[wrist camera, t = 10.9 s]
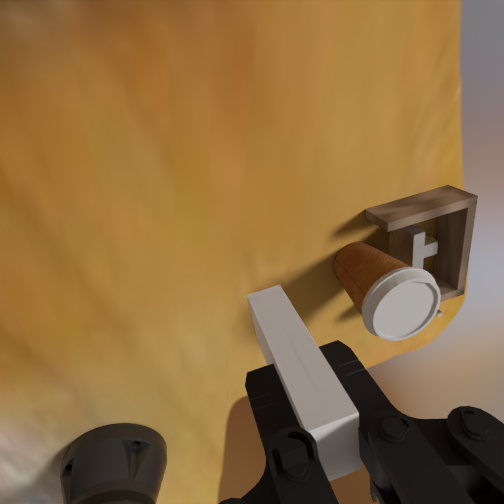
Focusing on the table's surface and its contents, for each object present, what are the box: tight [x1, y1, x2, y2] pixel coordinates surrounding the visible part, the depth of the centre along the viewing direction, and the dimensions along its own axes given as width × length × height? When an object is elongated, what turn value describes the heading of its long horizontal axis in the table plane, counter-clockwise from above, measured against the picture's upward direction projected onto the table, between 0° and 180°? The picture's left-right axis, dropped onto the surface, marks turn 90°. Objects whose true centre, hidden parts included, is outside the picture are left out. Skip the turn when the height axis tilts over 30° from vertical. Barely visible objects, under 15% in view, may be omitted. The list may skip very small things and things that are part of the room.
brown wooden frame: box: [366, 185, 478, 302], centre depth 48 cm, size 12×16×5 cm
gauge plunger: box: [389, 225, 442, 317], centre depth 47 cm, size 6×11×9 cm, turn 12°
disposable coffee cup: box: [334, 242, 441, 341], centre depth 44 cm, size 10×10×12 cm
